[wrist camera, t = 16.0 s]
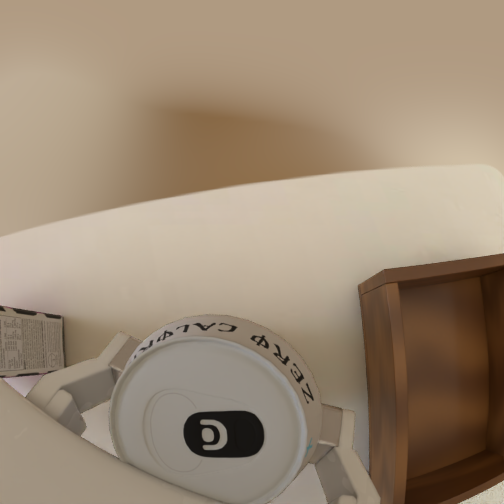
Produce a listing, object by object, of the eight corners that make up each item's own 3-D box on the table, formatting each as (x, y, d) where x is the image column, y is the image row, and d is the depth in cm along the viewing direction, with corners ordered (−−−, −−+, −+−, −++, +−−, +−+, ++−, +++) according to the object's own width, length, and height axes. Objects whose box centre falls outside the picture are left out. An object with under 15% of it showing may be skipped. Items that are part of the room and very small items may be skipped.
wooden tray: (487, 452, 17) (524, 468, 12) (368, 494, 18) (390, 528, 12) (481, 267, 22) (521, 250, 16) (357, 284, 22) (383, 269, 17)
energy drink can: (199, 330, 22) (81, 312, 7) (286, 324, 22) (325, 298, 7) (205, 413, 20) (109, 518, 6) (293, 409, 20) (334, 526, 6)
